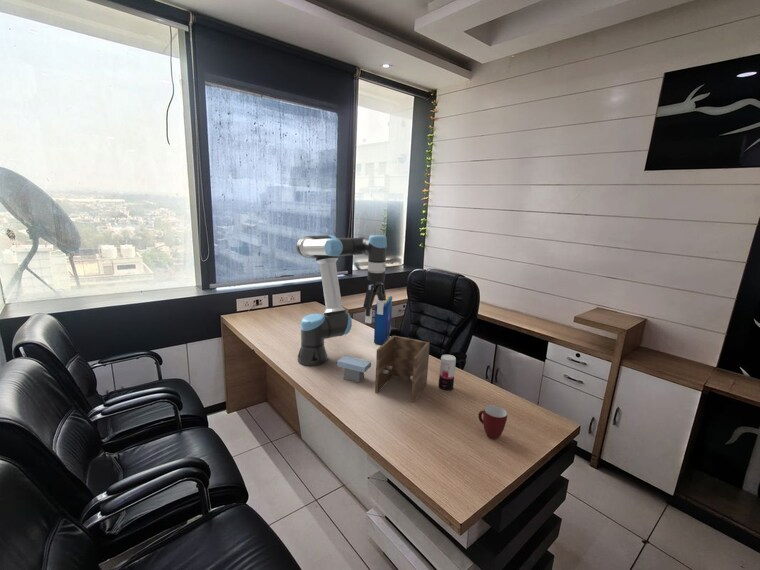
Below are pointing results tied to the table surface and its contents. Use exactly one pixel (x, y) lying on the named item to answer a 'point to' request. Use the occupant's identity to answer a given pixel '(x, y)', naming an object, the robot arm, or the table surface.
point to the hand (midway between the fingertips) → (374, 318)
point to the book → (383, 322)
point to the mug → (493, 420)
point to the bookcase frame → (403, 363)
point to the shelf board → (354, 364)
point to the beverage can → (447, 372)
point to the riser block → (353, 375)
